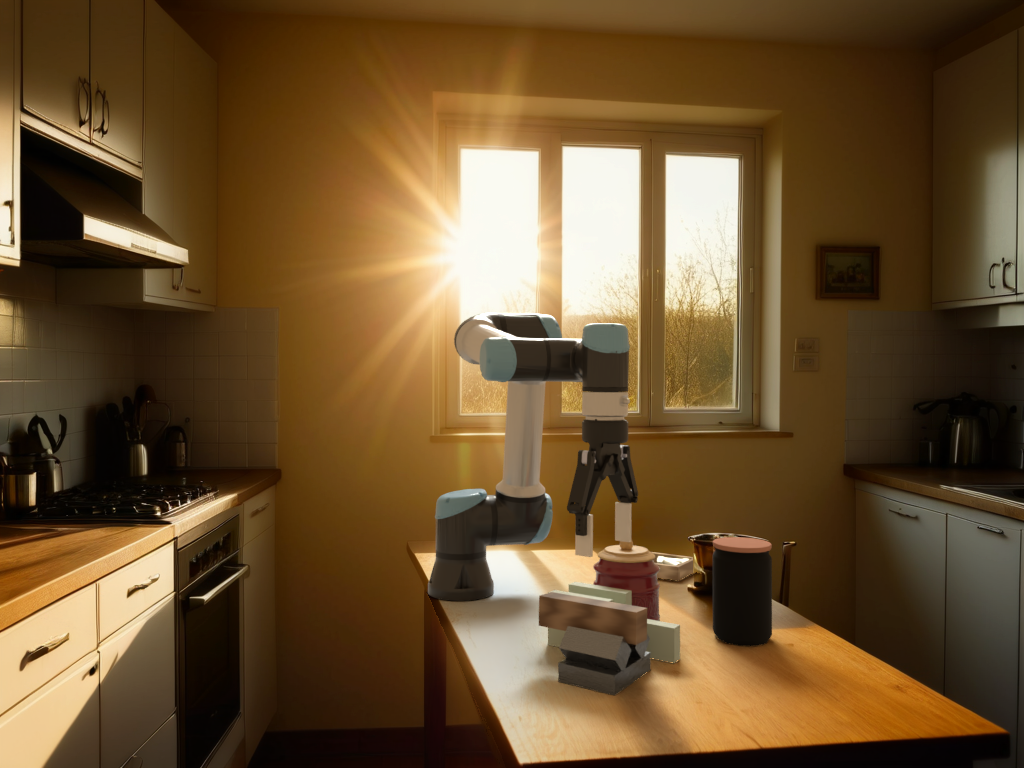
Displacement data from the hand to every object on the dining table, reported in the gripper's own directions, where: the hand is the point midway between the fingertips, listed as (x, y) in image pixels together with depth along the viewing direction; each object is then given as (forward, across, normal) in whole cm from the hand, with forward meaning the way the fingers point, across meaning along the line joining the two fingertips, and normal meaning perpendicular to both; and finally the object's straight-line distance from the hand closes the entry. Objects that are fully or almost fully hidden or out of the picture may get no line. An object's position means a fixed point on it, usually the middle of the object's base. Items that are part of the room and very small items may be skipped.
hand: (604, 548), depth 128 cm
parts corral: (+22, +72, +22) cm, 79 cm away
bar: (+14, 0, +2) cm, 14 cm away
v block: (+21, 0, 0) cm, 21 cm away
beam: (+21, +13, +4) cm, 25 cm away
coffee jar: (+21, +32, -13) cm, 40 cm away
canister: (+21, +26, +8) cm, 34 cm away
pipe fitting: (+22, +74, +20) cm, 80 cm away
